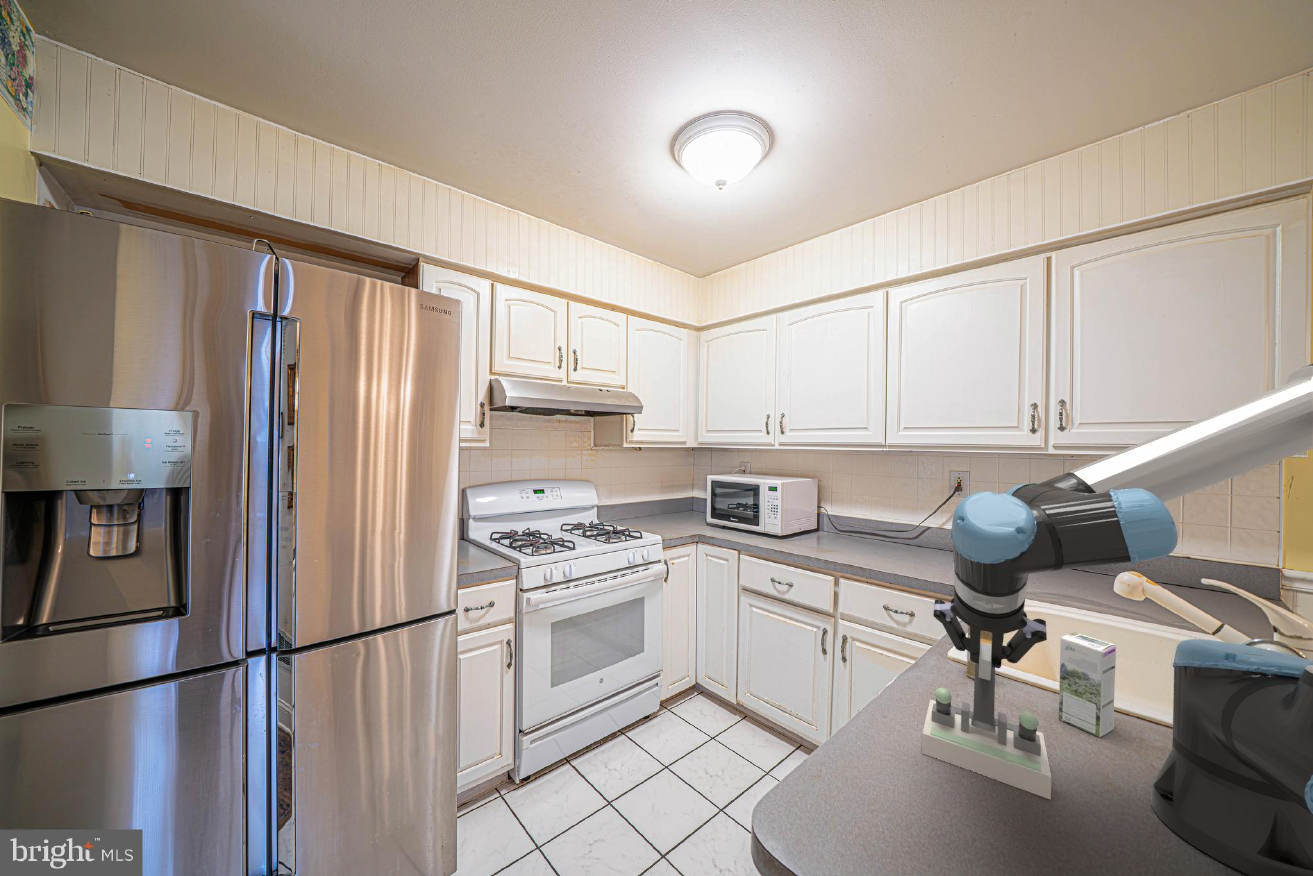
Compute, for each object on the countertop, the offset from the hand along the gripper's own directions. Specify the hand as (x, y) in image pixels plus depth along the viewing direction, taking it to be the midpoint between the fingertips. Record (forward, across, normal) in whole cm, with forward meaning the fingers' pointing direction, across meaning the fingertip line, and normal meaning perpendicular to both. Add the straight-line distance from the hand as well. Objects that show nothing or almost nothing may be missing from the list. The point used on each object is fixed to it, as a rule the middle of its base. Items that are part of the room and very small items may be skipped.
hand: (984, 670), depth 74 cm
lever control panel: (+6, 0, -10) cm, 12 cm away
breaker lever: (+3, 0, -7) cm, 8 cm away
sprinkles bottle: (+27, -1, +10) cm, 29 cm away
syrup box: (+21, +14, +4) cm, 26 cm away
